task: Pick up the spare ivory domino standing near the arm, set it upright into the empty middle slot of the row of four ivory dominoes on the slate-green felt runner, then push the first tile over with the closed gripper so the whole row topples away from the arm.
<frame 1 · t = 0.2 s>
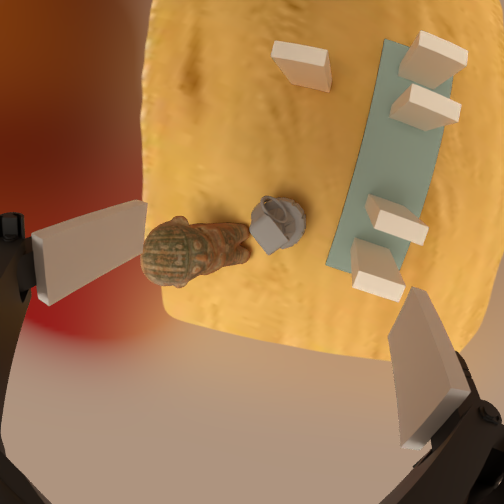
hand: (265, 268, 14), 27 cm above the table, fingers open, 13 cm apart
domino 2: (408, 117, 31), point 1 cm above the table, touching felt runner
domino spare: (311, 82, 34), on the table
hand grenade: (286, 213, 40), on the table
domino 5: (369, 249, 38), point 1 cm above the table, touching felt runner
felt runner: (396, 161, 34), on the table
domino 4: (384, 206, 36), point 1 cm above the table, touching felt runner
figurine: (224, 230, 44), on the table
domino 1: (416, 76, 29), point 1 cm above the table, touching felt runner
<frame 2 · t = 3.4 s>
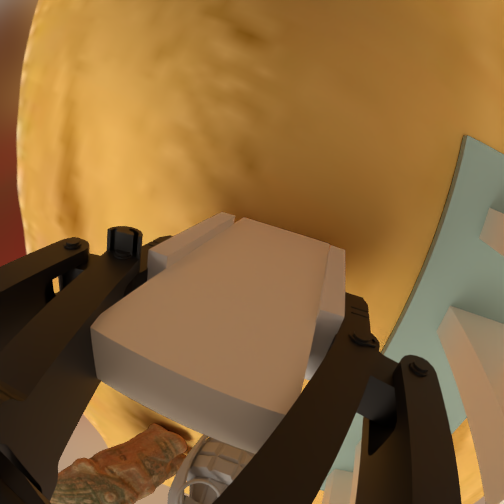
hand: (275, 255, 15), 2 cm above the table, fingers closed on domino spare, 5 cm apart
domino 2: (473, 328, 14), point 1 cm above the table, touching felt runner
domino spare: (282, 245, 17), on the table, touching gripper
hand grenade: (237, 433, 24), on the table
domino 5: (354, 477, 21), point 1 cm above the table, touching felt runner
felt runner: (426, 392, 17), on the table
domino 4: (387, 445, 19), point 1 cm above the table, touching felt runner
figurine: (158, 425, 27), on the table
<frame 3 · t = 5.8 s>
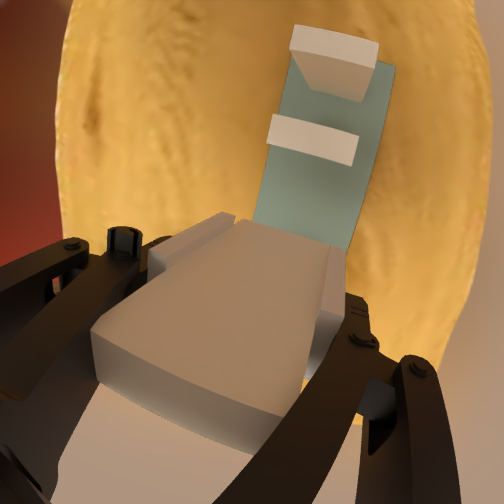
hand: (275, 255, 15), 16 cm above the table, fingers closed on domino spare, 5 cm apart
domino 2: (323, 145, 27), point 1 cm above the table, touching felt runner
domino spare: (281, 246, 17), point 14 cm above the table, touching gripper
felt runner: (308, 204, 30), on the table
domino 1: (337, 87, 25), point 1 cm above the table, touching felt runner
when the fingers open (2 cm above the table, at t = 8.3 s): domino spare stays where it is, resting on felt runner.
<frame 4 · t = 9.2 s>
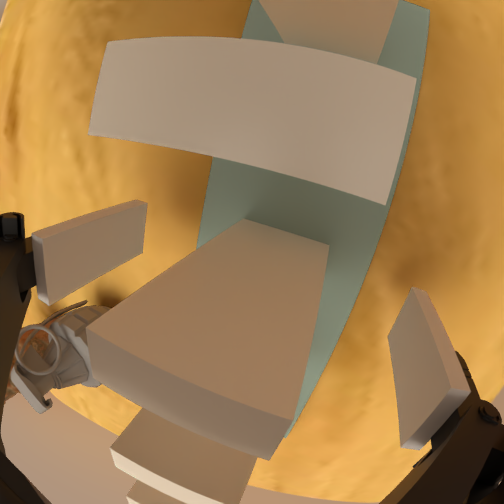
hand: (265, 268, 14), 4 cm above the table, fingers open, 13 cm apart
domino 2: (309, 138, 15), point 1 cm above the table, touching felt runner
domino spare: (281, 246, 17), point 1 cm above the table, touching felt runner
hand grenade: (116, 318, 24), on the table
domino 5: (239, 390, 21), point 1 cm above the table, touching felt runner
felt runner: (284, 242, 17), on the table
domino 4: (257, 330, 19), point 1 cm above the table, touching felt runner
figurine: (63, 324, 27), on the table
domino 1: (333, 38, 12), point 1 cm above the table, touching felt runner
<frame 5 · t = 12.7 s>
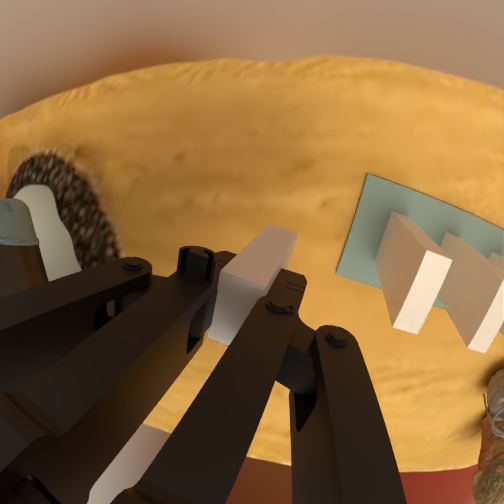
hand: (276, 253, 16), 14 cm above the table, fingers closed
domino 2: (444, 258, 25), point 1 cm above the table, touching felt runner
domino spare: (487, 275, 24), point 1 cm above the table, touching felt runner
hand grenade: (495, 375, 27), on the table
felt runner: (485, 273, 24), on the table
figurine: (485, 419, 29), on the table
domino 1: (391, 239, 26), point 1 cm above the table, touching felt runner
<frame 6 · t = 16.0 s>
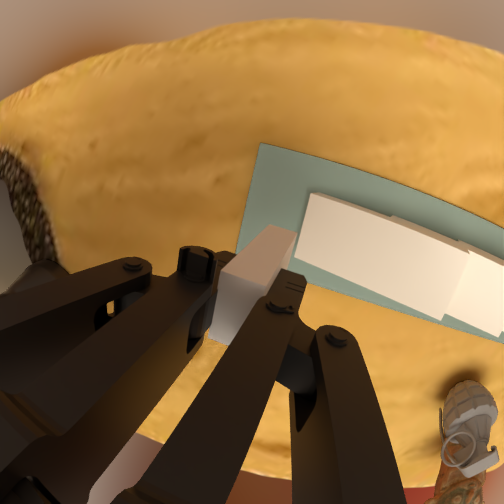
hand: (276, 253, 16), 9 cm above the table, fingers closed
domino 2: (381, 247, 22), point 1 cm above the table, tilted 73°, touching domino 1, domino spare, felt runner
hand grenade: (458, 388, 25), on the table
felt runner: (429, 260, 22), on the table
figurine: (450, 436, 27), on the table
domino 1: (307, 224, 23), point 1 cm above the table, tilted 73°, touching domino 2
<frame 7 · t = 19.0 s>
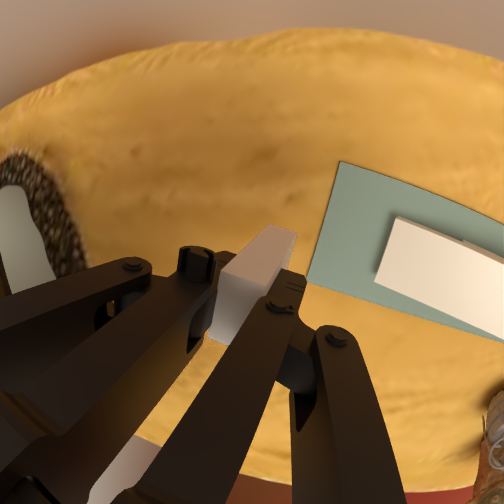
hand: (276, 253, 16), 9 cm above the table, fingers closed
hand grenade: (498, 396, 23), on the table
felt runner: (488, 280, 20), on the table
figurine: (485, 440, 25), on the table
domino 1: (386, 248, 21), point 1 cm above the table, tilted 73°, touching domino 2
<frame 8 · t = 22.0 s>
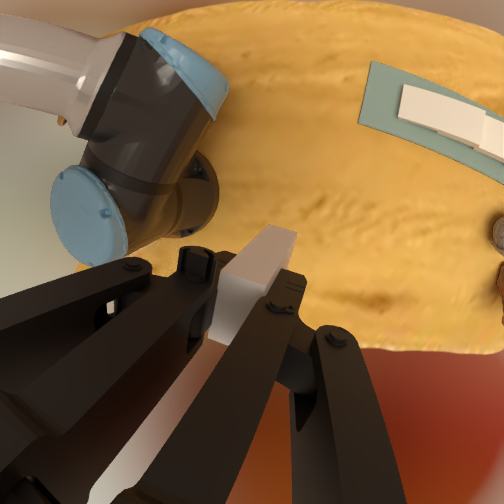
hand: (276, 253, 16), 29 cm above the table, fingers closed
domino 2: (440, 116, 32), point 1 cm above the table, tilted 73°, touching domino 1, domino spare, felt runner
hand grenade: (497, 229, 35), on the table
felt runner: (464, 130, 33), on the table
figurine: (500, 283, 37), on the table
domino 1: (401, 101, 34), point 1 cm above the table, tilted 73°, touching domino 2
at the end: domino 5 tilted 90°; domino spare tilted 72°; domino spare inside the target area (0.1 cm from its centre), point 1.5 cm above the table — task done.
